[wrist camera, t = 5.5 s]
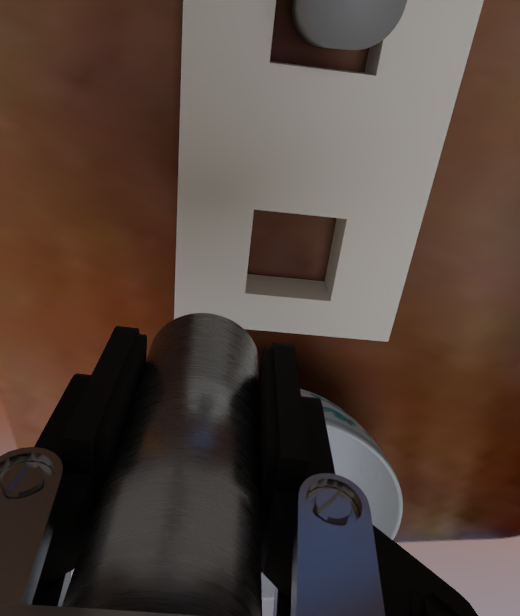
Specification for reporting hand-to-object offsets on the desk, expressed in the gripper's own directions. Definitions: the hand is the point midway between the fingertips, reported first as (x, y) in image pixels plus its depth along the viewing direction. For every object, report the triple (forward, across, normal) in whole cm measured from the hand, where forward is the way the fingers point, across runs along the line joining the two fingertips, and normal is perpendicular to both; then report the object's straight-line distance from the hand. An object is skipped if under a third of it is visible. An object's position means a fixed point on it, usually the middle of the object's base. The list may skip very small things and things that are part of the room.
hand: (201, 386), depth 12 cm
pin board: (+15, -4, -4) cm, 16 cm away
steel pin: (+1, 0, 0) cm, 1 cm away
